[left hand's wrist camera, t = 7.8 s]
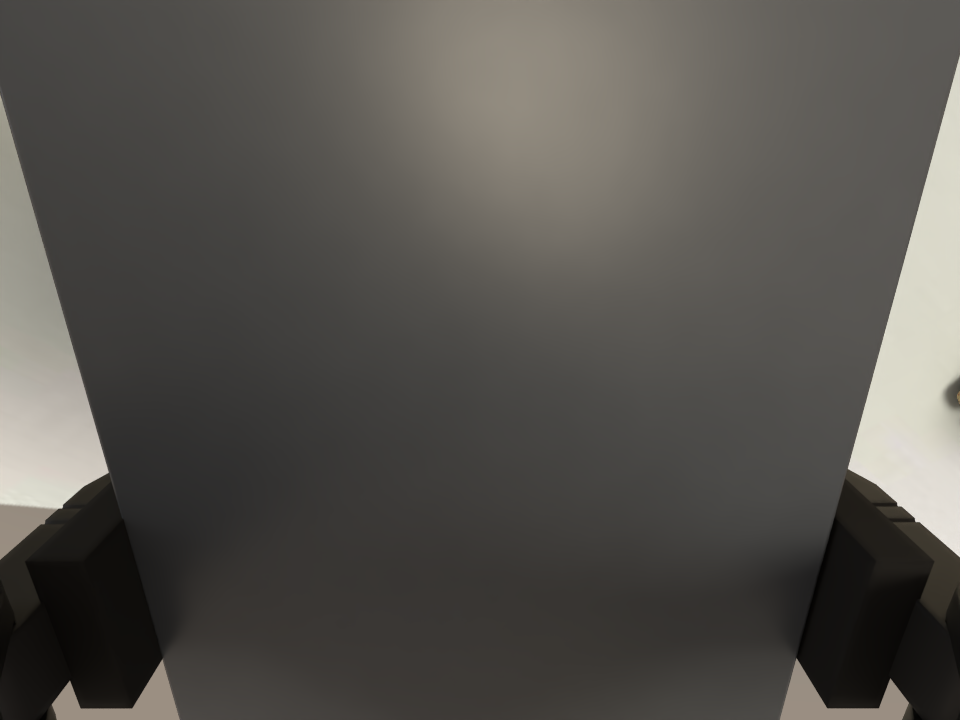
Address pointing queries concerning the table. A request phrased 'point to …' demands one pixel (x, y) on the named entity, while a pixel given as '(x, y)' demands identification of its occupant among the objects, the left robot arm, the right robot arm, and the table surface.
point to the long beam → (477, 330)
